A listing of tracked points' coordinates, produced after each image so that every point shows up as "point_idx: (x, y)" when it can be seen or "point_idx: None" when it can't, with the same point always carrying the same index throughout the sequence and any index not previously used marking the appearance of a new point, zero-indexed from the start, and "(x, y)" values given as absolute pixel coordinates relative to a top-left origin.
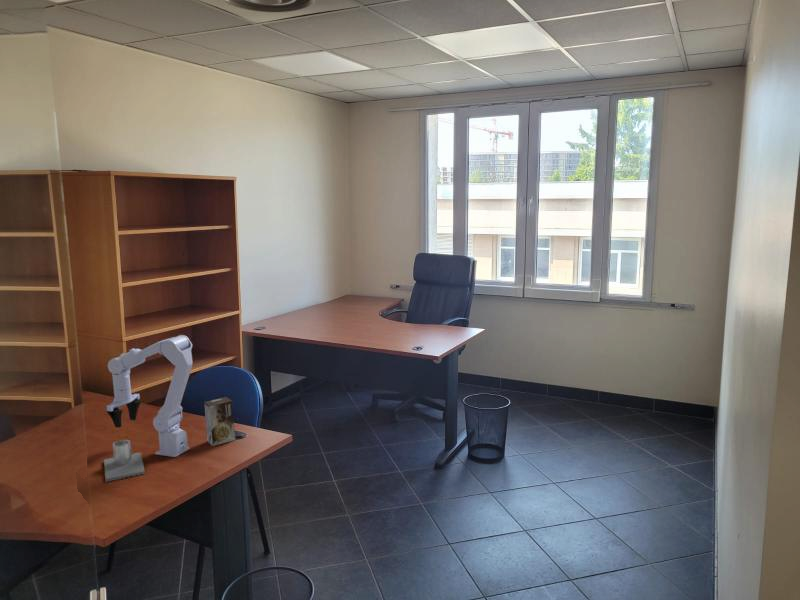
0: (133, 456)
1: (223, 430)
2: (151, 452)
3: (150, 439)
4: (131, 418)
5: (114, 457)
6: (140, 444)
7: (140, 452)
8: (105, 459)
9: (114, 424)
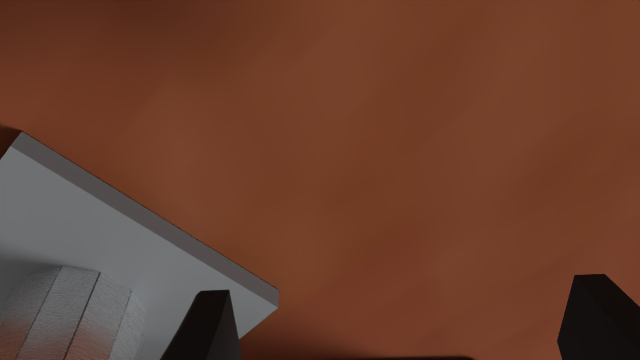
0: None
1: None
2: (346, 323)
3: (624, 140)
4: (579, 316)
5: None
6: (484, 139)
7: (274, 309)
8: (17, 160)
9: (181, 325)
